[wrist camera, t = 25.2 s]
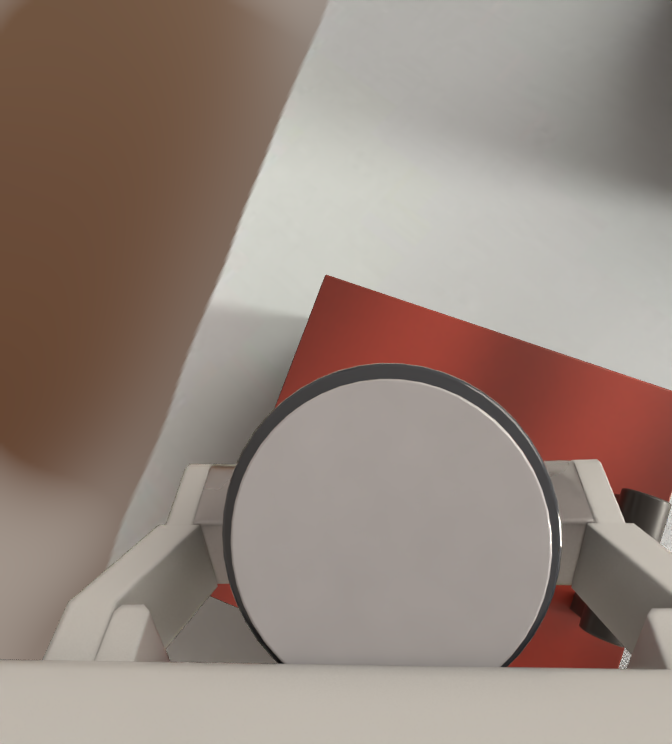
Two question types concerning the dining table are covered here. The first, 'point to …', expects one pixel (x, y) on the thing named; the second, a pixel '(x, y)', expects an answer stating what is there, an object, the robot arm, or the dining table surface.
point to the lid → (528, 407)
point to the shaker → (392, 524)
